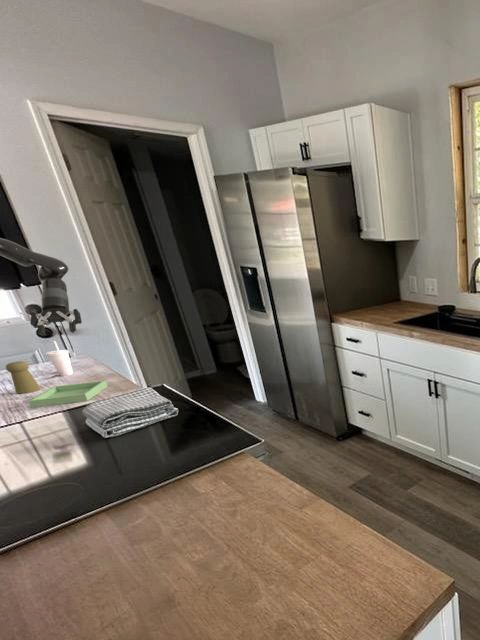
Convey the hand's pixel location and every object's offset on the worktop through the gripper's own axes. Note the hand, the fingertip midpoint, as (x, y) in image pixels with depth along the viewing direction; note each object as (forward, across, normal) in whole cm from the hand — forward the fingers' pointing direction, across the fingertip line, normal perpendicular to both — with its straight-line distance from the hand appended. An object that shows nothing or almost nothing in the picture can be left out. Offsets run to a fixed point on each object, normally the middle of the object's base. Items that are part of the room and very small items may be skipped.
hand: (57, 333), depth 168 cm
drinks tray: (+41, -9, +19) cm, 46 cm away
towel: (+70, -32, +48) cm, 91 cm away
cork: (+29, +6, +7) cm, 31 cm away
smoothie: (+17, 0, -5) cm, 18 cm away
